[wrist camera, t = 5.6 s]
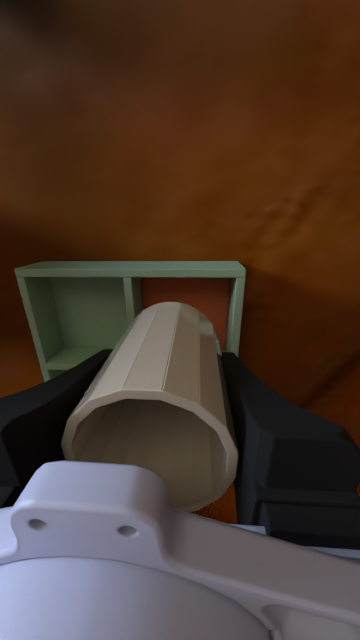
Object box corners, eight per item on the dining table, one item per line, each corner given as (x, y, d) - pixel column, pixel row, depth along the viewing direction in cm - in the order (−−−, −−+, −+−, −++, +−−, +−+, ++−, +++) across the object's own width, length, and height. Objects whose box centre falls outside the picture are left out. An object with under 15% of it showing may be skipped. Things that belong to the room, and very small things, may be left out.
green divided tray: (225, 417, 25) (229, 446, 22) (76, 411, 26) (59, 438, 23) (238, 261, 19) (246, 269, 16) (42, 261, 20) (13, 268, 17)
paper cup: (215, 383, 16) (231, 520, 9) (132, 380, 16) (78, 510, 9) (220, 301, 14) (245, 393, 6) (123, 301, 14) (44, 386, 7)
